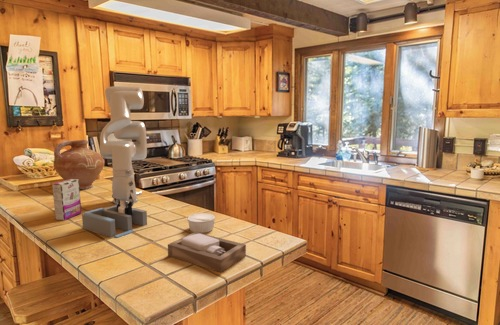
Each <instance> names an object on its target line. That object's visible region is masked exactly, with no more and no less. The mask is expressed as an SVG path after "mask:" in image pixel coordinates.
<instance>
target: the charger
mask: <svg viewBox="0 0 500 325" xmlns="http://www.w3.org/2000/svg"><path fill="white" fill-rule="evenodd" d="M203 234H204V233H202V234H195V235H191V236H187V235H186V236H187V237H185V236H183V237H184V238H183V237H182V238H183V239H182V243H181V245H183V246H186V247H190V248H193V249H197V250H200V251H204V252H207V253H211V254H214V255H218V256H221V255H222V254H224V253H226V251H224V250H225V249H224V248H222V247H219V240H218V239H215V238H212V237H209V236H206V235H207V234H206V235H203ZM223 252H224V253H223Z"/></svg>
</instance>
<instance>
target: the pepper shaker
mask: <svg viewBox="0 0 500 325" xmlns="http://www.w3.org/2000/svg"><path fill="white" fill-rule="evenodd" d="M125 208H126V206H125V201H123V200H120V207H119V208H118V212H119V213H123V214H125Z"/></svg>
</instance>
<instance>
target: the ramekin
mask: <svg viewBox="0 0 500 325" xmlns="http://www.w3.org/2000/svg"><path fill="white" fill-rule="evenodd" d="M215 221H216V217H215V215H214V214H212V213H206V212H205V213H204V212H201V213H200V212H199V213H194V214H190V215H188V216H187V222H188V227H189V231H191V233H194V232H198V233H202V234H206V233H209V232H211V231H212V230H213V229H214V225H215Z"/></svg>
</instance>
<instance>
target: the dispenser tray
mask: <svg viewBox="0 0 500 325" xmlns="http://www.w3.org/2000/svg"><path fill="white" fill-rule="evenodd" d="M195 234H203V235H206V236H209V237H212V238H215V239H218V240H219V247H222V248H224V249H225V250H224V251H226V253H224V252H222V254H220V255H214V254H211V253H207V252H204V251H200V250H197V249H193V248H190V247H186V246H183V245H181V243H182V239H183V238H184V237H187V236H191V235H195ZM246 249H247V244H245V243H241V242H237V241H234V240H233V241H232V240H229V239H225V238H222V237H218V236H217V237H216V236H214V235H213V236H212V235H209V234H206V233H198V232H191V233H190V234H188V235H185V236H183V237H181V238H179V239H176V240H174V241H173V242H170V243H168V244H167V256H168V257H171V258H174V259H177V260H180V261H184V262H186V263H189V264H193V265H196V266H199V267H202V268H205V269H209V270H211V271H214V272H217V273H223V272H224V271H226V270H227V269H229V268H230V267H232V266H233V265H234V264H236V263H238V262H239V261H241V260H242V259H243V258H245V257H246V256H247V250H246Z"/></svg>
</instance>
